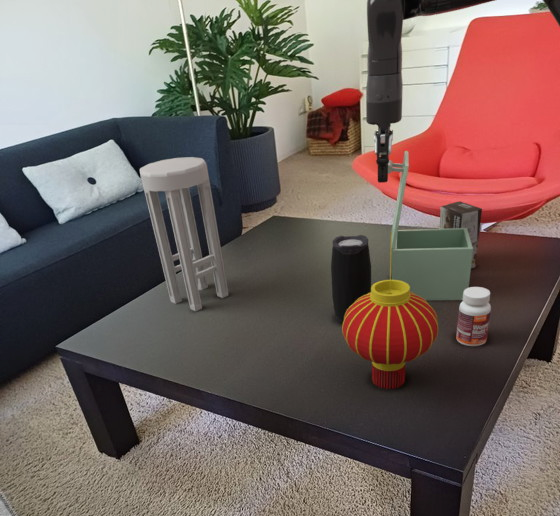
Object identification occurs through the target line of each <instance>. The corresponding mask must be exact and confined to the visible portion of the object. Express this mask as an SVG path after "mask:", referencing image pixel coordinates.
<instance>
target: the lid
mask: <svg viewBox="0 0 560 516" xmlns="http://www.w3.org/2000/svg"><path fill="white" fill-rule="evenodd" d="M409 162H410V161H409V150H405V151H404V154H403V160H402V163H394V162H393V160H391V159H389V163H388V175H389V174H391V173H393V172H395V173H400V178H399V185H398V191H397V198H396V202H395V209H394V213H393V214H394V215H393V220H392V227H391V232H392V246H391V245H390V249H392V250H393V249H395V244H396V238H397V232H398V230H399V226H400V221H401V214H402V210H403V209H402V208H403V203H404V196H405V190H406V185H407V178H408V174H409V168H410V163H409Z"/></svg>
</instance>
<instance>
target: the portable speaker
mask: <svg viewBox="0 0 560 516" xmlns="http://www.w3.org/2000/svg"><path fill="white" fill-rule="evenodd" d="M330 274H331V275H330V276H331V277H330V278H331V291H332V292H331V294H332V297H331V298H332V303H333V309H334V314H335V321H336V322H337V323H338V324H340V325H343V322H344V316H345V313H346V311H347V310H348V308H349V307H350V306H351V305H352V304H353V303H354V302H355V301H356V300H357V299H358V298H360V297H362V296H364V295H367V294H368V293H370V292H371V287H372V261H371V253H370V247H369V238H368V237H367V236H366V235H363V234H359V235H349V236H348V235H346V236H345V235H339V236H336V237H335V238H333V239H332V248H331V262H330Z"/></svg>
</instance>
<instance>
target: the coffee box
mask: <svg viewBox="0 0 560 516" xmlns="http://www.w3.org/2000/svg"><path fill="white" fill-rule="evenodd" d="M482 211H483V208H482V207H478V206H476V205H472V204H469V203H467V202H464V201H460V200H459V201H455V202H451V203H448V204H444V205H440V214H439V227H438V229H449V228H467V230H468V233H469V237H470V240H471V244H472V247H473V254H472V262H471V269H474V268H476V265H477V255H478V247H479V239H480V229H481V221H482V213H483V212H482Z"/></svg>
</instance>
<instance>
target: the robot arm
mask: <svg viewBox="0 0 560 516" xmlns="http://www.w3.org/2000/svg"><path fill="white" fill-rule="evenodd" d="M494 1H496V0H366V21H367V22H366V23H367V24H366V25H367V39H368V40H367V42H368V47H367V59H366V60H367V63H366V64H367V65H366V69H367V77H366V86H365V87H366V88H365V91H366V92H365V98H366V99H365V101H366V103H365V104H366V105H365V109H366V110H365V111H366V115H365V116H366V119H365V121H366V123H367V124H368V125H371V126H375V125H376V126H377V130H375V131H374V133H373V134H374V135H373V137H374V138H373V140H374V143H375V144H374V154H375V156H376V160H375V161H376V162H375V163H376V165H377V182H378V183H379V184H380V183H387V182H388V181H389V174H388V163H389V160H390V155H391V154H392V147H393V140H394V139H393V138H394V129H391V126H392V124H397V123H399V122H401V121H402V119H403V118H402V117H403V114H402V113H403V84H404V83H403V73H402V72H403V44H402V37H403V25H404V21H405V20H410V19H414V18H417V17H430V16H435V15H436V16H437V15H441V14H446V13H451V12H455V11H460V10H464V9H468V8H471V7H475V6H479V5H482V4H488V3H490V2H494ZM542 1H543V3H544V4H545V6H546V8H547V9H548V10H549V13H550V15H552V17H553V18H554V20H555V21H556V23H557V25H558V27H559V28H560V0H542Z"/></svg>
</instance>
